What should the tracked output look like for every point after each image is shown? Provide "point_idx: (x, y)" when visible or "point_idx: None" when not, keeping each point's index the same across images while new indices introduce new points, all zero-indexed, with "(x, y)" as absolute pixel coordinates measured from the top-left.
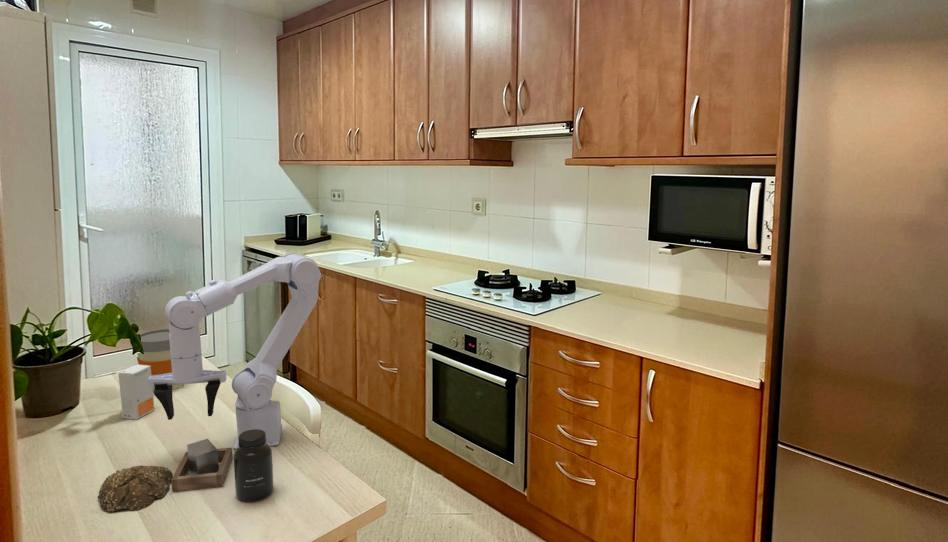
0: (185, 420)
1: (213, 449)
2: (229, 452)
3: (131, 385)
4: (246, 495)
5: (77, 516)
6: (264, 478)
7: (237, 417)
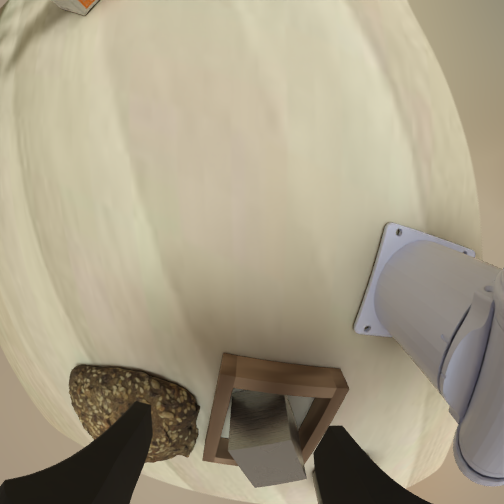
0: (208, 32)
1: (297, 477)
2: (336, 410)
3: None
4: None
5: (78, 424)
6: None
7: (417, 353)
